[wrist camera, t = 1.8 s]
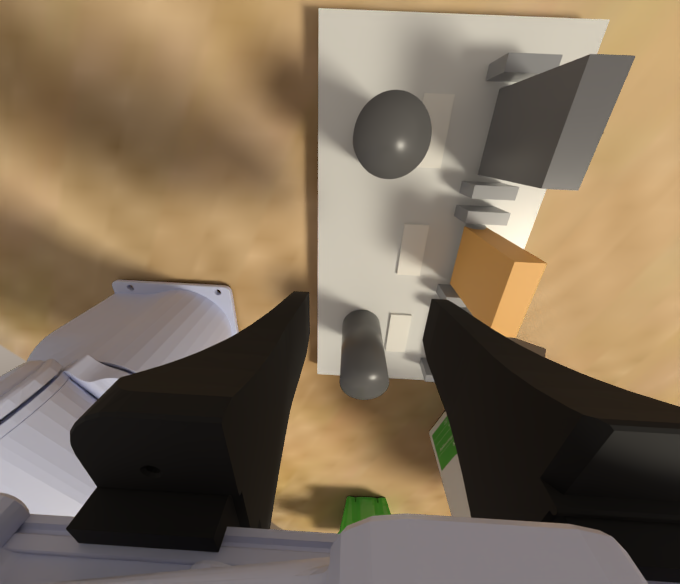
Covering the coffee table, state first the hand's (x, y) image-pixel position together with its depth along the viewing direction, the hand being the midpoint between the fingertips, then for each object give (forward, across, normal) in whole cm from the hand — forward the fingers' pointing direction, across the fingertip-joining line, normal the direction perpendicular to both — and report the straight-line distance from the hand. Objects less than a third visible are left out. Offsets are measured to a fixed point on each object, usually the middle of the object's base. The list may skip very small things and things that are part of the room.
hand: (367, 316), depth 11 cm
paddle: (+8, -7, -7) cm, 13 cm away
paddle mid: (+8, -7, 0) cm, 11 cm away
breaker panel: (+10, -4, 0) cm, 11 cm away
